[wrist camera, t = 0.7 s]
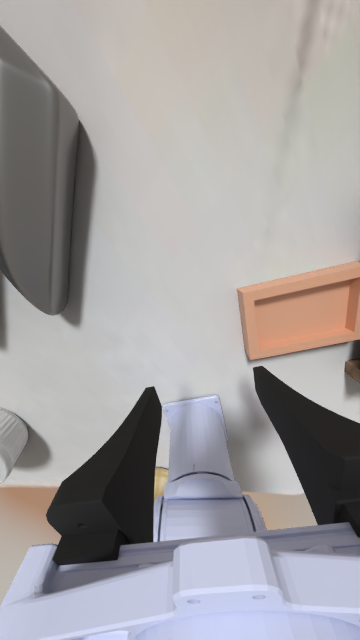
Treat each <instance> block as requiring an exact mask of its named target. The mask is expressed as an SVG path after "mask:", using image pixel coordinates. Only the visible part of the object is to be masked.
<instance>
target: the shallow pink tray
mask: <svg viewBox="0 0 360 640" xmlns="http://www.w3.org/2000/svg"><path fill="white" fill-rule="evenodd" d="M237 291H238V299H239V307H240V315H241V323H242V331H243V339H244V347H245V352H246V353H247V355H248V357H249V359H250V360H254V359H259V358H265V357H270V356H275V355H280V354H286V353H291V352H296V351H301V350H307V349H312V348H317V347H322V346H328V345H333V344H338V343H343V342H348V341H354V340H359V339H360V262H357V261H355V262H351V263H346V264H342V265H338V266H333V267H329V268H325V269H320V270H316V271H312V272H307V273H303V274H299V275H294V276H290V277H286V278H281V279H277V280H273V281H268V282H264V283H260V284H255V285H251V286H246V287H242V288H238V289H237Z"/></svg>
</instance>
